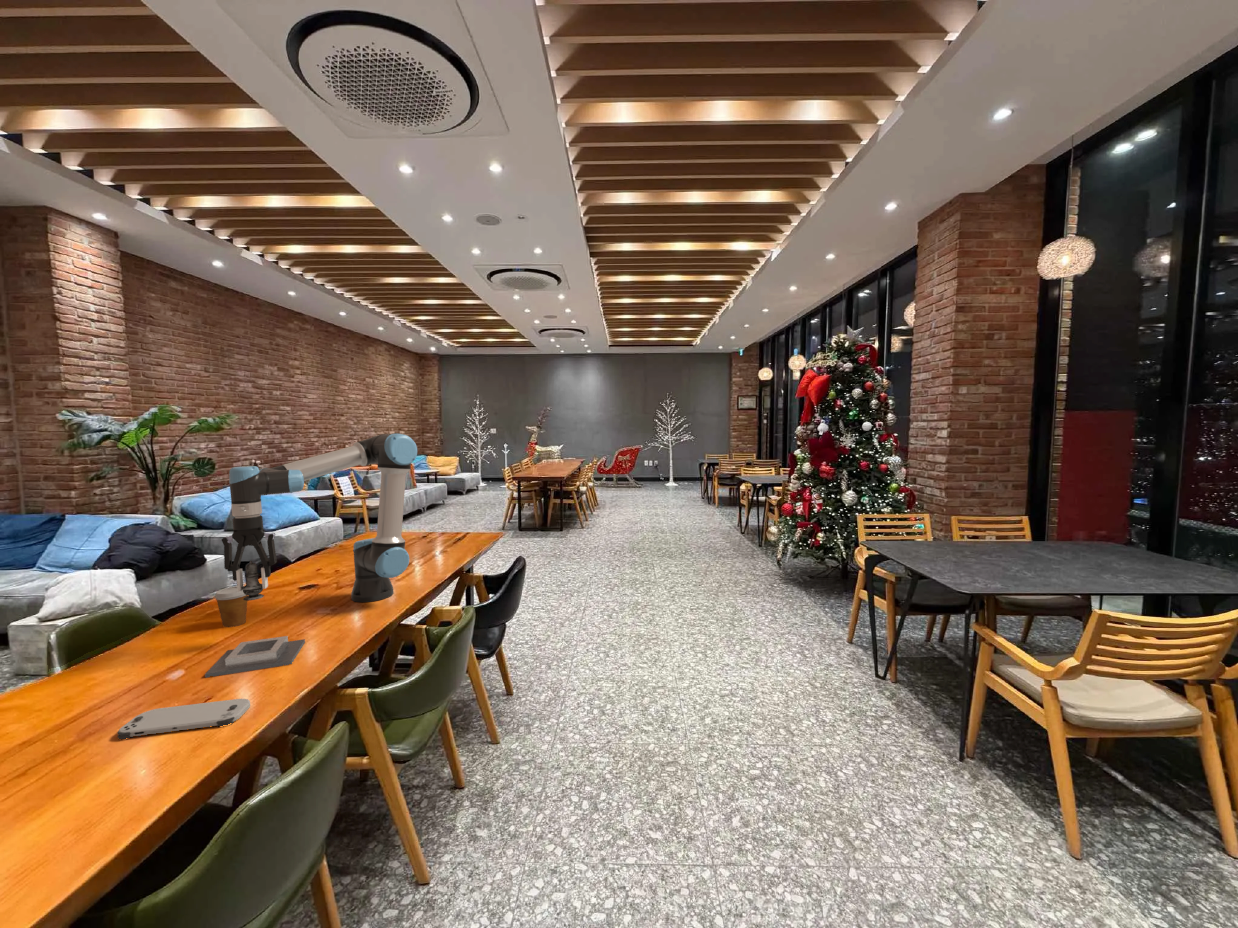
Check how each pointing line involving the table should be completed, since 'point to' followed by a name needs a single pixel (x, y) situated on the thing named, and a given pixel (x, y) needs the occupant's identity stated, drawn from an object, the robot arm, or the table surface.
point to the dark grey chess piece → (252, 583)
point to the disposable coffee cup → (231, 606)
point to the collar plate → (279, 662)
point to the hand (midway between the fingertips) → (253, 588)
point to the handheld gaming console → (185, 717)
